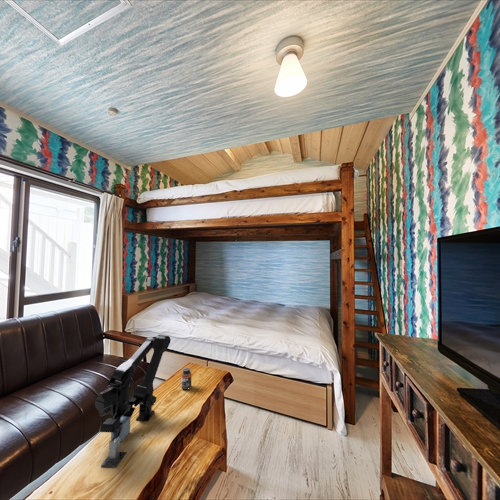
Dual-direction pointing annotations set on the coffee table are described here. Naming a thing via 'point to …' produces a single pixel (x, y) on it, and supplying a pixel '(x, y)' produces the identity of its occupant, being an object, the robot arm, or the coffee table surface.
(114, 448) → the post
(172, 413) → the coffee table surface
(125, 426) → the grey block on base
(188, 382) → the supplement bottle
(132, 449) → the coffee table surface
